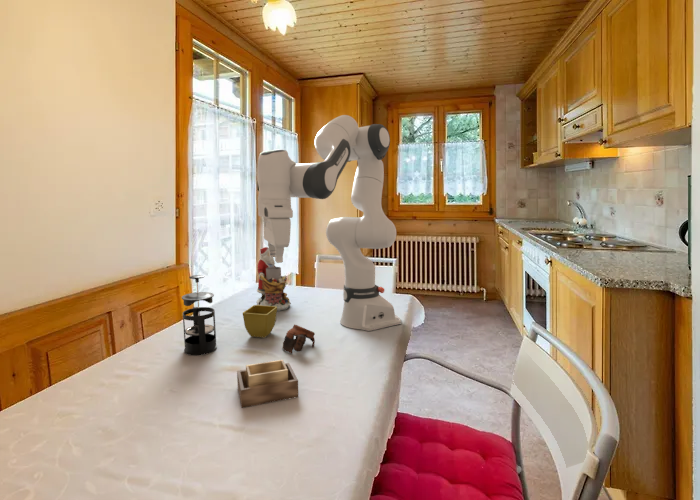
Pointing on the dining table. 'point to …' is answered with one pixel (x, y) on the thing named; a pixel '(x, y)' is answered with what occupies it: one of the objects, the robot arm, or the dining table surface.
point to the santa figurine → (271, 283)
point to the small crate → (266, 373)
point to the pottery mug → (297, 339)
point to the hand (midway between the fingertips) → (275, 259)
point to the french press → (199, 323)
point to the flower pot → (260, 320)
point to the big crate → (267, 390)
